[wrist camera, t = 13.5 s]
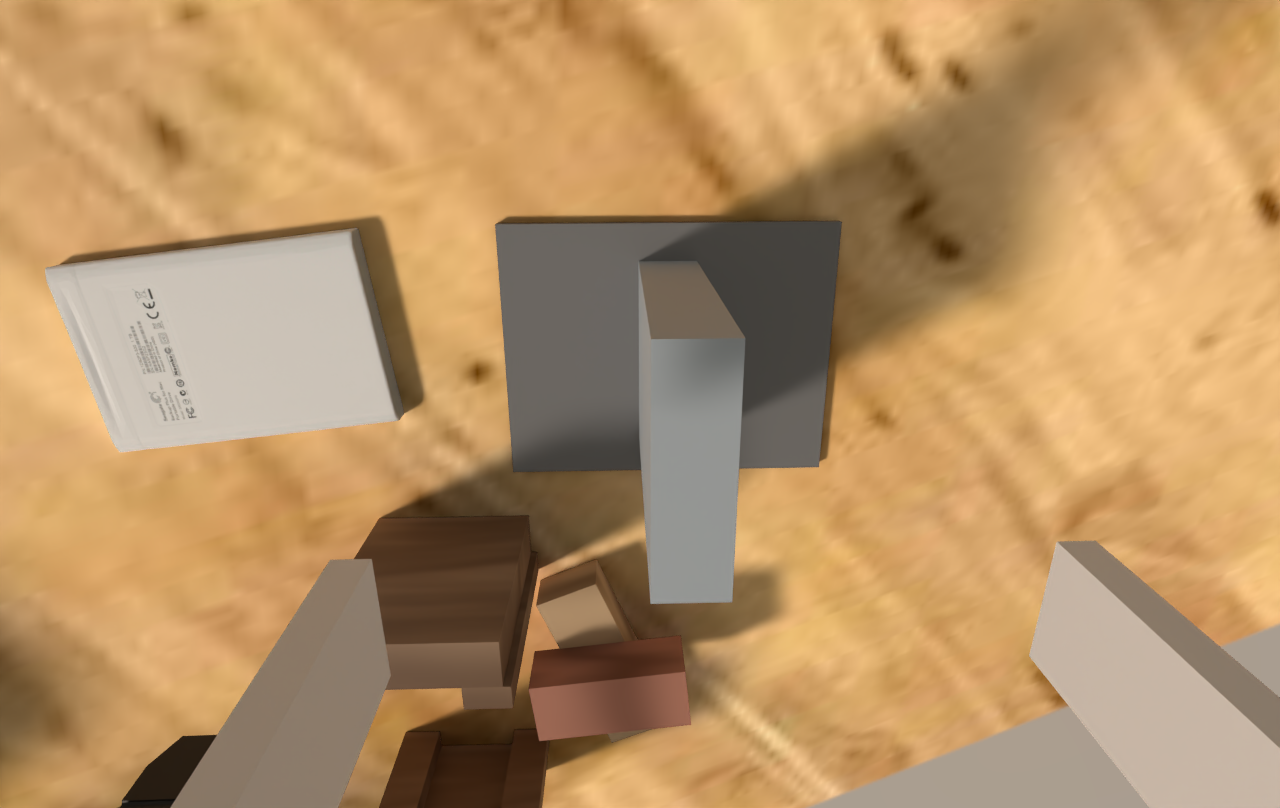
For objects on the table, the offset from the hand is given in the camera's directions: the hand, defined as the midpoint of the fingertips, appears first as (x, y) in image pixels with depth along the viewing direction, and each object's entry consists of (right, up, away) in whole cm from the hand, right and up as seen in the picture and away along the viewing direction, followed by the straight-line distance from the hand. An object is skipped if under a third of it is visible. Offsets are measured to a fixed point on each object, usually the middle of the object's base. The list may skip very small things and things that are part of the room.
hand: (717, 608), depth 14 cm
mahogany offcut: (-3, -9, +21) cm, 23 cm away
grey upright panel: (0, +6, +17) cm, 18 cm away
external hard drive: (-19, +7, +17) cm, 26 cm away
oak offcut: (-3, -8, +23) cm, 24 cm away
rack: (-10, -9, +23) cm, 26 cm away
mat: (0, +6, +17) cm, 18 cm away
